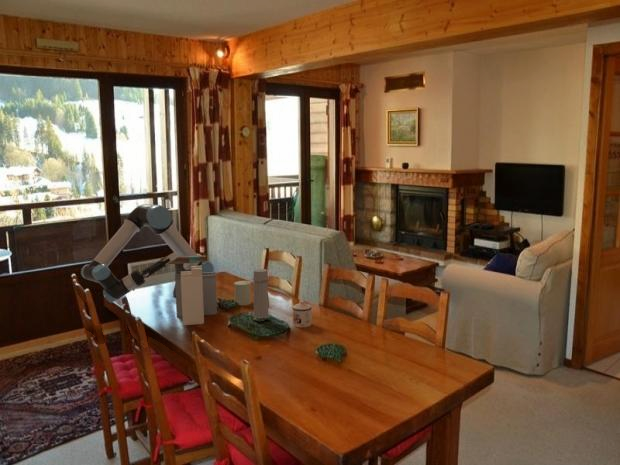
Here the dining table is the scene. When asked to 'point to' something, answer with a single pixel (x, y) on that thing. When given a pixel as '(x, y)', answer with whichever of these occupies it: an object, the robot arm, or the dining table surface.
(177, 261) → the walnut pin
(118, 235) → the robot arm
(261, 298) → the water bottle
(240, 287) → the can
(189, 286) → the cream stand
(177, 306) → the grey box
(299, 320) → the teacup with lid
